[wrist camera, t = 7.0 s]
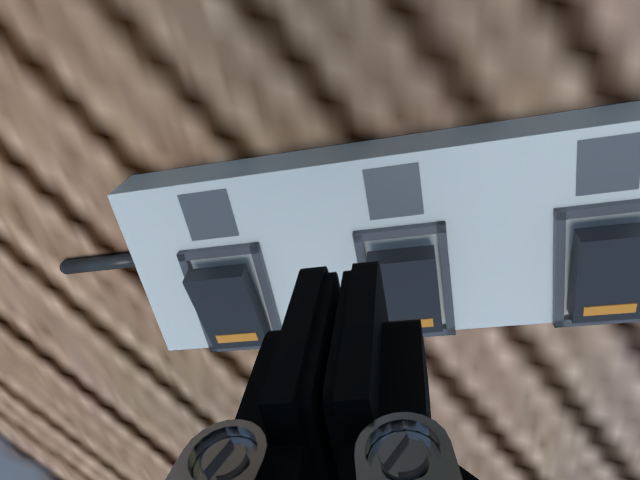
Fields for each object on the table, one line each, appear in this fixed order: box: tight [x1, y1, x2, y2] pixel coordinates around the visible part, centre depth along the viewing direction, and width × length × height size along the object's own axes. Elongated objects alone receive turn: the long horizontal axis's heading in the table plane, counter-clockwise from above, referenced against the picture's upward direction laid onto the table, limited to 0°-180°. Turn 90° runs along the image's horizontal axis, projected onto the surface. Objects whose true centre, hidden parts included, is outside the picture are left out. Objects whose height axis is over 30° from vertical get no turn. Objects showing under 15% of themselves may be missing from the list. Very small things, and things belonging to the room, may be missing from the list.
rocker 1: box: [182, 263, 271, 349], centre depth 39 cm, size 7×4×2 cm, turn 11°
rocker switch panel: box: [60, 101, 640, 352], centre depth 39 cm, size 14×49×5 cm, turn 101°
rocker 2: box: [567, 222, 640, 323], centre depth 34 cm, size 7×4×2 cm, turn 11°
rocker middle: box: [367, 245, 443, 333], centre depth 36 cm, size 7×4×2 cm, turn 11°
